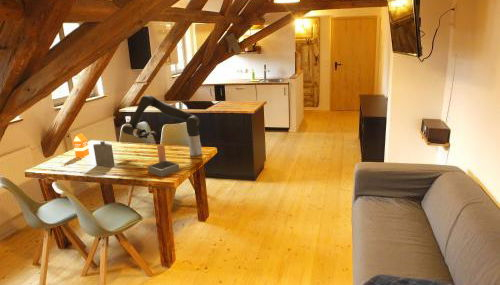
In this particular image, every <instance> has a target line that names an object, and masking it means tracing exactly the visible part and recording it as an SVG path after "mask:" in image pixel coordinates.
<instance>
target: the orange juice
mask: <svg viewBox="0 0 500 285" xmlns="http://www.w3.org/2000/svg"><path fill="white" fill-rule="evenodd" d="M72 145H73V148H74V154H75V158H76V157H84V158H86V157H88V156H89V155H90V151H89V144H88V139H87V138H86V136H85V135H84V134H83V133H82V132H80V133H78V134H76V135H75V137H74V139H73V144H72ZM87 155H88V156H87ZM85 156H86V157H85Z"/></svg>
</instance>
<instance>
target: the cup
mask: <svg viewBox="0 0 500 285" xmlns="http://www.w3.org/2000/svg"><path fill="white" fill-rule="evenodd" d="M165 146H166V145H164V144H159V145H157V158H158V163H159V162H162V161H165V160H167V159H166V158H167V157H166V149H165Z"/></svg>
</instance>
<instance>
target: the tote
mask: <svg viewBox="0 0 500 285" xmlns="http://www.w3.org/2000/svg"><path fill="white" fill-rule="evenodd" d="M147 170H148V173H149V174H152V175H154V176H155V175H156V176H158V177H160V178H162V177H165V176H168V175H170V174H174V173H177V172H179V171H180V165H179V163H176V162H172V161H169V160H167V159H166V160H165V161H162V162H159V161H158V162H155V163H153V164H150V165H148V166H147Z"/></svg>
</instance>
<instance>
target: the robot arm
mask: <svg viewBox="0 0 500 285" xmlns="http://www.w3.org/2000/svg"><path fill="white" fill-rule="evenodd" d="M148 107H152V108H154V109H155V108H156V109H157V110H159V112H161V114H163V115H165V116H167V117H169V118H172V119H175V120H181V121H184V122H185V124H186V131H187V132H186V133H187V134H188V135H187V136H188V148H189V149H188V150H189V156H191V157H198V156H200V155H202V154H203V153H202V152H203V151H202V142H201V139H200V138H201V137H200V131H199V129H198V126H199V124H200V119H199V117H198V116H197V115H194V114H191V113H188V112H185V111H183V110H182V109H181V108H177V107H175V106H174V105H171V104H168V103H166V102H164V101H161V100H160V99H158V98H156V97H154V96H153V95H150V94H145V95H143V96H142V97H140V101H139V102H138V105H137V107H136V109H135V112H134V113H133V115H132V116H131V118H130V120H129V122H128V124H129V125H124V126H123V127H122V133H123V134H126V135H130V136H134V137H136V138H139V139H148V137H151V136H153V137H156V136H157V132H156V131H155V130H154V131H153V130H149V131H147V130H146V129H144V128H141V127H138V124H139V123H140V121H141V120H142V117H143V114H144V112H145V110H146V109H147V108H148Z"/></svg>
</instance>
